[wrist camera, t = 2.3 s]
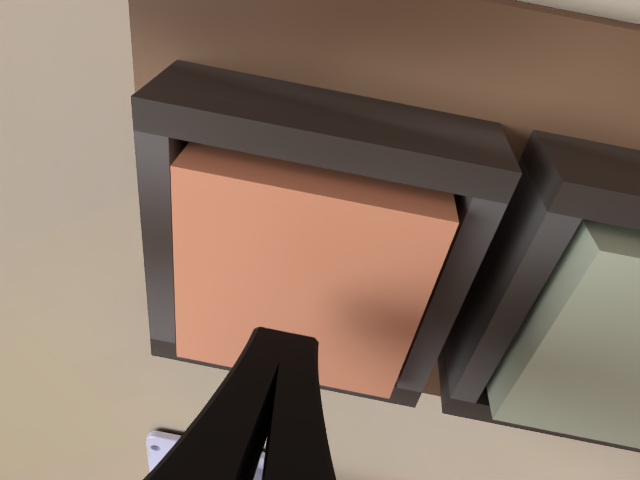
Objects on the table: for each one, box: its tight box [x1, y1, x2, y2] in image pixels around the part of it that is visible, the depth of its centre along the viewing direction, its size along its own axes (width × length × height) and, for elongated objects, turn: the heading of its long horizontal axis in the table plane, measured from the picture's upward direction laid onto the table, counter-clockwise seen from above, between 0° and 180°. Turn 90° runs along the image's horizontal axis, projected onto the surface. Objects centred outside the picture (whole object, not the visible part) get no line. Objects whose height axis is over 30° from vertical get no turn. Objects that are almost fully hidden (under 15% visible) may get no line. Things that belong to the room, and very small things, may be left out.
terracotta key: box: [170, 142, 459, 399], centre depth 13 cm, size 6×6×2 cm
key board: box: [128, 0, 640, 452], centre depth 15 cm, size 14×30×4 cm, turn 81°
